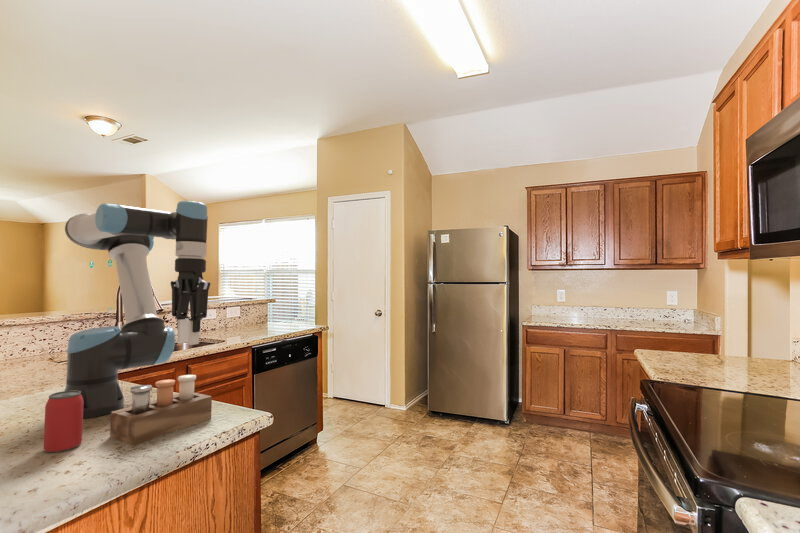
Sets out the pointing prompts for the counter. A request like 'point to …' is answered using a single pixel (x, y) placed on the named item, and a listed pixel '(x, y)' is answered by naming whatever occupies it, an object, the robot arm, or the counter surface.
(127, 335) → the robot arm
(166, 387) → the peach round knob
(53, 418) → the beer can
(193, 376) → the plunger white
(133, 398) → the plunger grey
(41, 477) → the counter surface
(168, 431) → the button block
